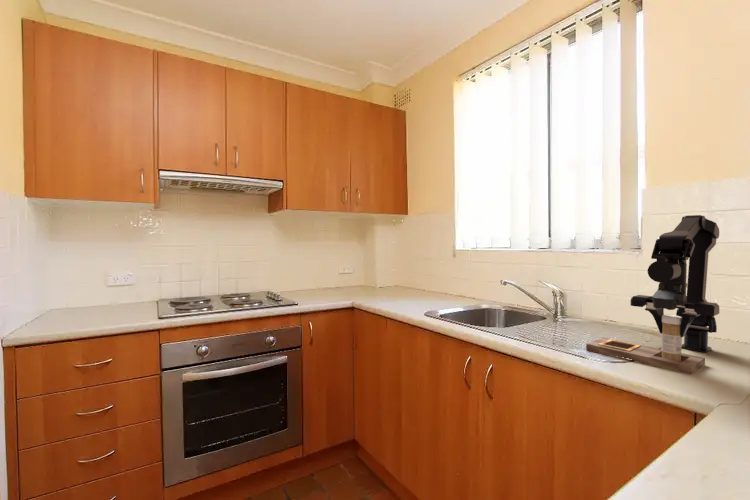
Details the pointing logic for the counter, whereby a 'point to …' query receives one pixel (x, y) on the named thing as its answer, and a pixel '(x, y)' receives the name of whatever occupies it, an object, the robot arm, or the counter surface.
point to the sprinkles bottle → (671, 337)
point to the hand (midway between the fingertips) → (671, 335)
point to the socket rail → (645, 355)
